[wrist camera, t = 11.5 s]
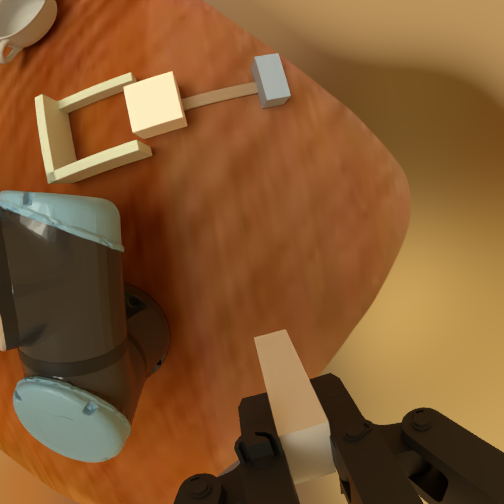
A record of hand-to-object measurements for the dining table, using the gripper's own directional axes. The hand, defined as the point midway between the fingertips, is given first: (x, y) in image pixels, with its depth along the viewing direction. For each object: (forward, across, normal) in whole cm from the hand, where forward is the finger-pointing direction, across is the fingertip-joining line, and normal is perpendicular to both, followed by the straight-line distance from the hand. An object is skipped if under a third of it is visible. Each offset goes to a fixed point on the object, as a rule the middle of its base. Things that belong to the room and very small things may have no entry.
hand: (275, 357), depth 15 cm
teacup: (+30, -24, +42) cm, 57 cm away
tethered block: (+29, +1, +20) cm, 35 cm away
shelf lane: (+29, -14, +20) cm, 38 cm away
